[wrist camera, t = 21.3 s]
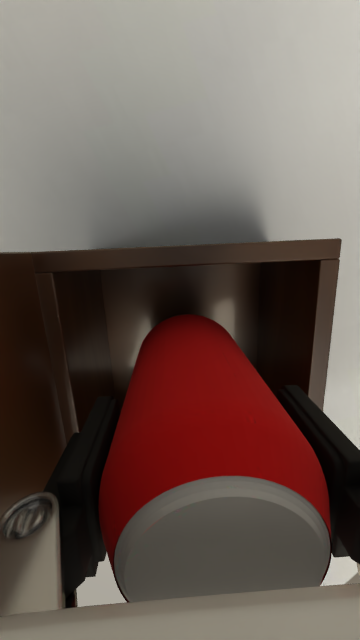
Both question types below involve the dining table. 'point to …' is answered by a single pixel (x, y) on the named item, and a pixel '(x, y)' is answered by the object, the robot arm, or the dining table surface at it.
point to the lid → (25, 386)
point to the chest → (186, 311)
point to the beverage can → (209, 476)
